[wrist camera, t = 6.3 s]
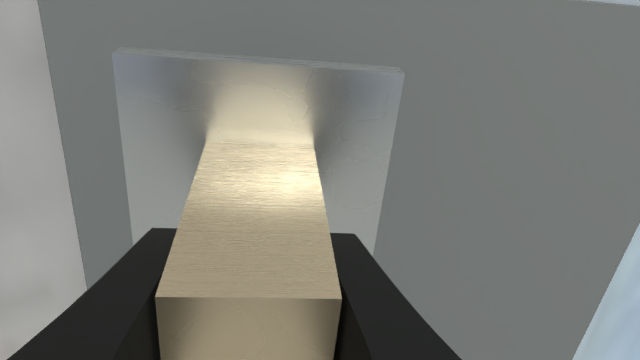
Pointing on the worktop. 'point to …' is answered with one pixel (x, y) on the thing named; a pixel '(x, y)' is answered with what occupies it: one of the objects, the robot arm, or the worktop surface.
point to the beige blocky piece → (252, 191)
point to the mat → (417, 143)
